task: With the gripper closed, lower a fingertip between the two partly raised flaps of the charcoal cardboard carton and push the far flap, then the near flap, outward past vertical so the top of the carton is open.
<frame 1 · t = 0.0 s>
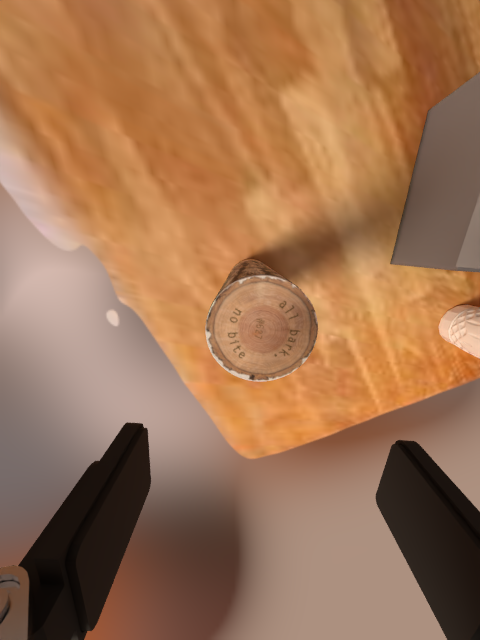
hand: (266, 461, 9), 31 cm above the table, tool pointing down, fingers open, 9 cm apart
paper tube: (250, 279, 38), on the table
white cup: (457, 323, 40), on the table
carton: (462, 197, 34), on the table
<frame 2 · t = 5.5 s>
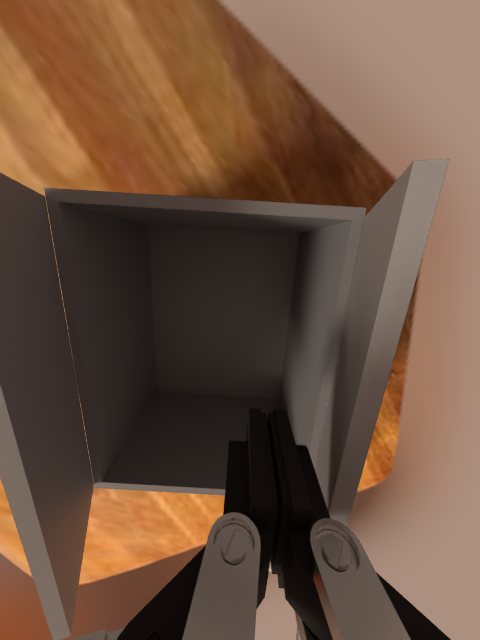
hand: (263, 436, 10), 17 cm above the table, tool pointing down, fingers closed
carton: (221, 319, 26), on the table
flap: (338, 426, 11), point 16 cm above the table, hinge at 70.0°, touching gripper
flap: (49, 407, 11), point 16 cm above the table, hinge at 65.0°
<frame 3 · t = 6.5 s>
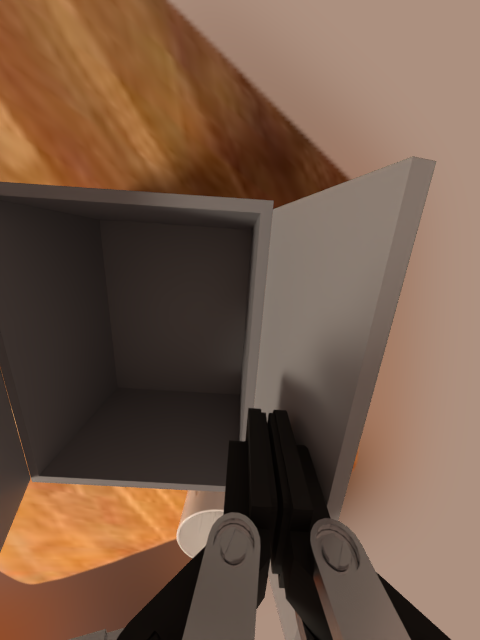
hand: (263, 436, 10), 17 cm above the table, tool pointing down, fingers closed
white cup: (225, 450, 32), on the table
carton: (178, 315, 26), on the table
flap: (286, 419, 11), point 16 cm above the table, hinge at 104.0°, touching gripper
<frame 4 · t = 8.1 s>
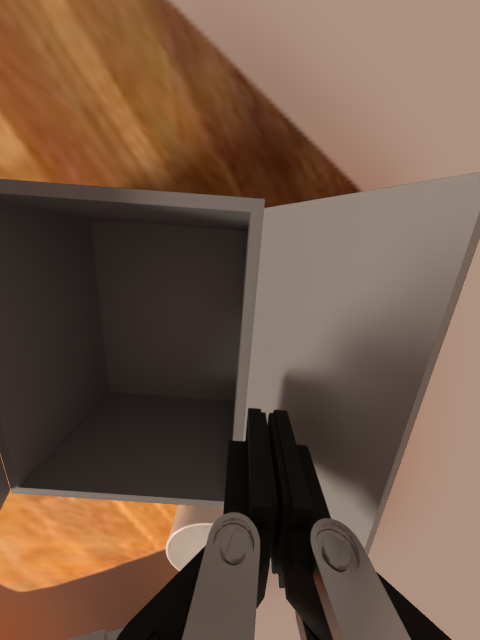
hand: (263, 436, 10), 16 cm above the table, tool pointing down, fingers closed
white cup: (219, 457, 31), on the table
carton: (172, 318, 25), on the table
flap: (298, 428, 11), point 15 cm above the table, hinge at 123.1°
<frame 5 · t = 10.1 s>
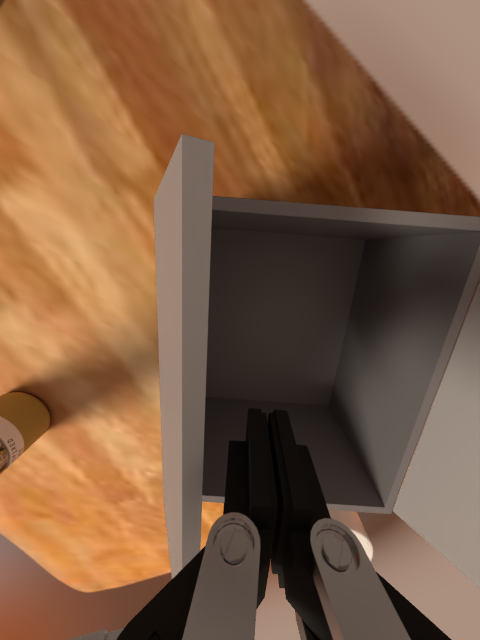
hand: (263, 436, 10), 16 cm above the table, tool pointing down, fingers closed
paper tube: (27, 411, 29), on the table
white cup: (303, 460, 31), on the table
carton: (276, 325, 25), on the table
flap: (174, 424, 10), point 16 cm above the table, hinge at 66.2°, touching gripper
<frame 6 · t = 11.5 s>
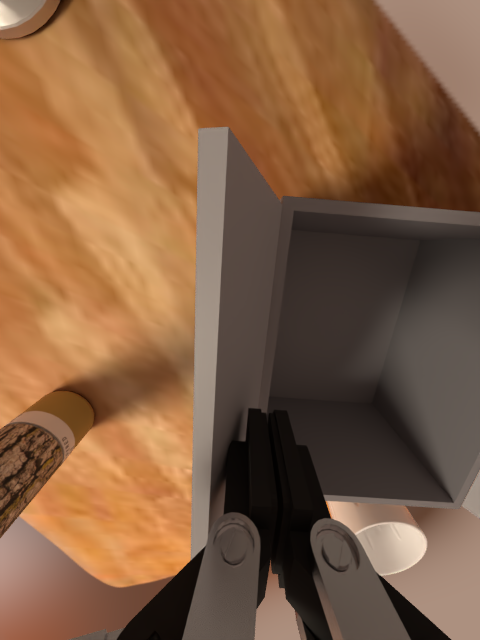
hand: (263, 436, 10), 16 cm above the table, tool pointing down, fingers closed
paper tube: (71, 409, 30), on the table
white cup: (341, 457, 32), on the table
carton: (324, 324, 26), on the table
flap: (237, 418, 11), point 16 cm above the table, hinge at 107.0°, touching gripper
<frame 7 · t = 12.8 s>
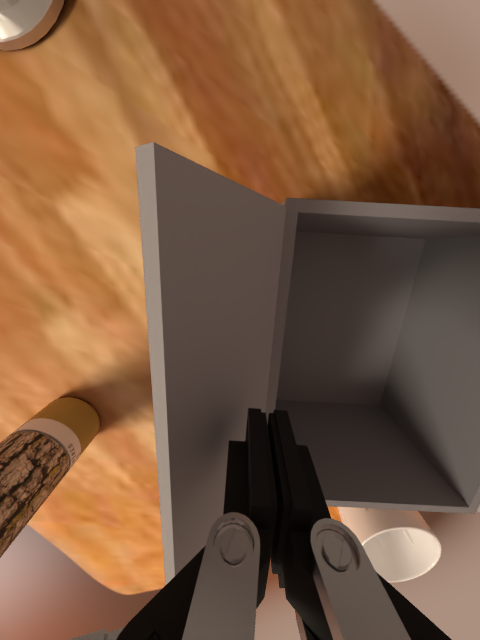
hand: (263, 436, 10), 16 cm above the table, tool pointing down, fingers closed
paper tube: (77, 416, 30), on the table
white cup: (349, 460, 31), on the table
carton: (329, 325, 25), on the table
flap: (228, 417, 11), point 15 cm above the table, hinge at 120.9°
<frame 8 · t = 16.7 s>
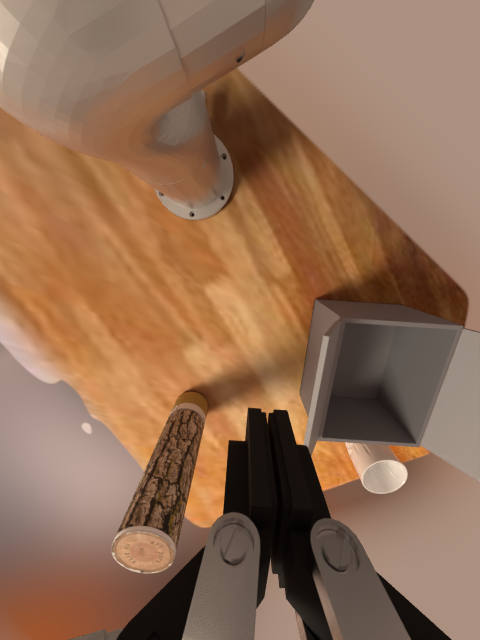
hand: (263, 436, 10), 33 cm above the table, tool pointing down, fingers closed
paper tube: (192, 403, 49), on the table
white cup: (357, 433, 50), on the table
carton: (348, 352, 45), on the table
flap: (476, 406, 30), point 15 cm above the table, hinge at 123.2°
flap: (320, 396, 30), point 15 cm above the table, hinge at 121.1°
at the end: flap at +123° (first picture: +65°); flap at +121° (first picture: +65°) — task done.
